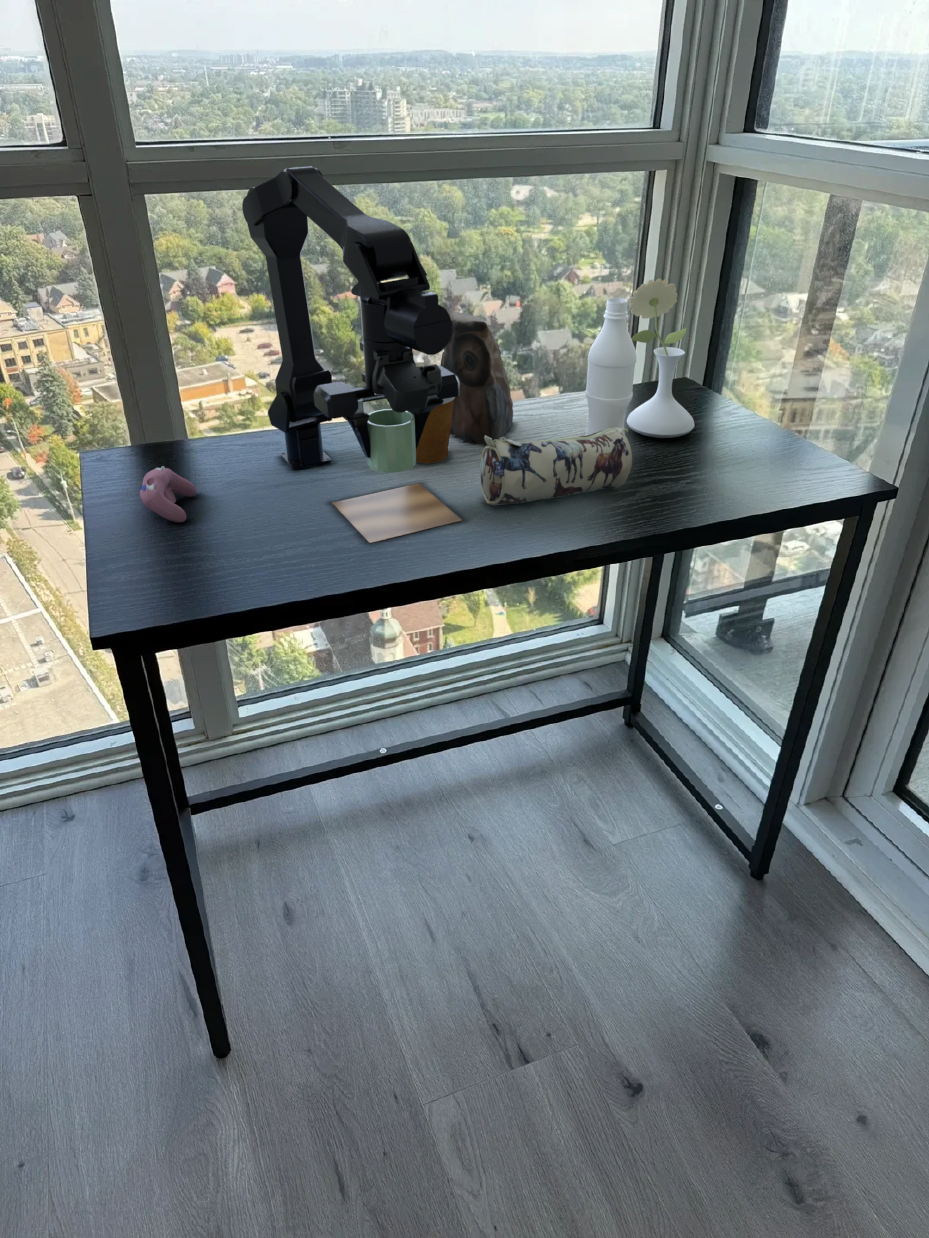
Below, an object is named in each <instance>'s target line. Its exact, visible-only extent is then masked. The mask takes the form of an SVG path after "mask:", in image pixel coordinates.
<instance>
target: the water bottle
mask: <svg viewBox="0 0 929 1238" xmlns="http://www.w3.org/2000/svg"><path fill="white" fill-rule="evenodd" d="M628 304H629V299H626V298H623V297H610V298H607V300H606V305H605V311H604V314H603V318H604V321H603V325H602V327H601V330H600V331H599V333H598V334H597V336H596V337H595V339H594V341H593V342H592V345H591V346H590V349H589V352H588V356H587V374H586V387H585V391H584V393H585V396H586V402H587V408H588V418H587V427H586V431H585V434H584V435H586V436H587V435H590V434H593V433H596V432H599V431H603V430H606V429H609V428H615V427H618V428H625V419H626V413H627V410H628V407H629V405H630V404H631V401H632V399H633V396H634V392H633V388H634V387H633V386H634V379H635V369H636V363H637V351H636V348H635V345H634V341H633V340H632V339H631V338H632V337H631V334H630V332H629V329H628V325H627V324H628V323H627V320H628V319H629V315H628V314H629V311H628ZM625 433H626V432H625V431H623V433H622V434H624V435H625V436H626V434H625Z"/></svg>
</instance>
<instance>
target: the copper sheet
mask: <svg viewBox="0 0 929 1238" xmlns="http://www.w3.org/2000/svg"><path fill="white" fill-rule="evenodd" d="M331 504H332V505H333V506H334V507H335V508H336V509H337V510H338V511H339V512H340V514H342V516H343V517H345V518H346V520H347V521H348V522H349V523H350V524H351V525H352V526H353V528H354V529H356V530H357V532H358V533H359V534H360V535H361V536H362V537H363V538H364V539H365V540H366V541H367V543H369V544H374V543H378V542H381V541H386V540H389V539H390V540H391V539H394V538H399V537H402V536H406V535H410V534H414V533H419V532H422V531H426V530H427V531H428V530H430V529H434V528H438V527H443V526H447V525H451V524H454V523H458V522H463V519H462V518H460V516H458V515H457V514H456V513H454V511H452V510H451V509H450V508H449V507H448V506H447V505H445V504H444V503H443V502H442V501H441V500H439V499H438V498H437V497H436V496H435V495H433V494H432V493H431V492H430V491H429V490H427V489H426V488H425V487H424V486H423V485H421V483H420V482H419V483H414V484H410V485H405V486H401V487H397V488H391V489H386V490H382V491H378V492H374V493H370V494H365V495H360V496H356V497H350V498H347V499H342V500H337V501H333V502H331Z"/></svg>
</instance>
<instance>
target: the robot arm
mask: <svg viewBox="0 0 929 1238" xmlns="http://www.w3.org/2000/svg"><path fill="white" fill-rule="evenodd" d="M241 208H242V209H241V210H242V214H243V218H244V220H245V222H246V225H247V228H248V232H249V236H250V238H251V240H252V241H253V242H254V243H255V245H256V246H257V248H258V249H259V250H260V252H261V253H262V254H263V255H264V257H265V260H266V261H265V262H266V267H267V268H266V269H267V273H268V281H269V286H270V292H271V293H270V294H271V298H272V304H273V310H274V317H275V323H276V326H277V327H276V328H277V335H278V341H279V346H280V354H281V359H282V362H281V364H280V366H279V368H278V371H277V374H276V377H275V378H274V379H275V380H274V384H275V394H276V395H275V397H274V398H273V400H272V402H271V404H270V407H269V408H268V410H267V415H268V419H269V422H270V425H271V426H272V427H274V428H276V429H277V430H279V431H281V432H283V433H284V440H285V449H286V451H285V452H281V453H280V455H279V456H280V458H281V459H282V460H283V461H284V462H285V463H286V464H287V465H288V466H289V467H290V469H292V470H294V471H295V470H300V469H305V468H311V467H314V466H320V465H324V464H325V465H326V464H329V463H331V462H332V458H331V457H330V456H328V455H327V453H325V451H324V448H323V438H322V428H321V424H322V423H326V422H332V421H333V419H334V420H335V419H340V418H343V419H344V420H345V421H347V422H348V424H349V426H350V428H351V430H352V431H353V433H354V436H355V438H356V440H357V442H358V444H359V446H360V448H361V450H362V453H363V454H364V456H365V458H370V457H371V447H370V439H369V432H368V425H367V423H368V419H369V413H368V412H366V411H365V410H364V408H365V407H364V403H369V402H374V401H379V400H380V401H381V400H386V401H387V402H388V404H389V407H390V409H392V410H393V411H395V412H399V413H401V412H405V411H407V410H408V412H411V413H412V414H413V415H414V418H415V445H416V448H417V447H418V444H419V441H420V438H421V435H422V432H423V429H424V426H425V423H426V421H427V419H428V416H429V414H430V412H431V411H432V410H433V409H434V408H435V407H437V406H438V405H442V404H443V402H444V400H443V399H447V398H452V397H458V396H459V395H460V382H459V379H458V377H457V376H456V375H455V374H453V373H452V372H450V371H448V370H447V369H445V368H443V367H442V366H440V365H438V364H437V363H435V364H429V365H419V366H417V365H416V361H415V359H414V351H417V352H419V353H422V354H424V355H428V356H435V355H437V354H439V353H442V351H444V348H445V347H446V346H447V344H448V342H449V340H450V338H451V335H452V328H453V324H452V321H451V318H450V315H449V313H448V312H447V310H446V309H445V308H446V307H444V306H442V305H441V304H439V295H438V293H435V292H433V291H432V292H431V291H430V289H431V285H430V283H429V279H428V277H427V276H428V273H427V271H426V270H425V268H424V267H423V264H422V262H421V260H420V257H419V256H418V253H417V250H416V248H415V245H414V244H413V241H412V239H411V237H410V235H409V234H408V232H407V231H406V230H405V229H404V228H402V227H400V226H398V225H397V224H395V223H393V222H391V221H389V220H386V219H381V218H378V217H373V216H370V215H369V214H366V213H365V212H364V211H363V210H361V209H360V208H359V207H358V206H357V205H356V204H354V202H352V201H351V200H350V199H349V198H347V197H346V196H345V195H344V194H343V193H342V192H340V191H339V190H338V189H337V188H336V187H335V186H334V185H333V184H332V183H330V182H329V181H328V180H326V179H325V178H324V175H323V173H322V171H321V170H320V168H317V167H314V166H312V165H310V166H296V167H286V168H285V169H284V170H281V171H280V172H279V173H278V174H276V176H274V177H272V178H270V179H269V180H266V181H265V182H262V183H260V184H258V185H255V186H253V187H251V188H249V189H248V191H247V194H246V196H244V198H243V200H242V207H241ZM309 219H310V220H311V221H312V222H313V223H314V224H315V225H316V226H317V227H319V229H321V230H322V231H323V232H324V233H325V234H326V235H327V236H328V237H329V238H331V240H333V242H335V243H336V244H337V245H338V247H339V248H340V249H341V252H342V263H343V264H344V266H346V267H347V269H348V270H349V272H350V273H351V274H352V275H353V277H354V278H355V279H356V280H357V283H355V284H354V285H353V286H352V288H351V290H350V293H351V295H353V296H355V297H359V301H360V302H359V304H360V316H361V317H360V318H361V334H362V341H359V350H360V351H361V352H363V366H364V372H361V381H362V382H363V383H365V386H359V387H354V388H352V387H350V386H349V385H347V383H345V382H344V381H335V382H333V375H332V373H331V372H330V370H329V369H325V368H324V367H323V366H322V364H321V362H319V360H318V359H317V357H316V350H315V344H314V343H315V342H314V337H313V329H312V323H311V317H310V309H309V304H308V297H307V290H306V282H305V276H304V270H303V263H302V251H303V249H304V246H305V243H306V240H307V238H308V235H309V233H310V232H309ZM405 277H406V278H405ZM426 291H430V292H426ZM413 350H414V351H413Z"/></svg>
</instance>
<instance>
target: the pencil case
mask: <svg viewBox="0 0 929 1238" xmlns="http://www.w3.org/2000/svg"><path fill="white" fill-rule="evenodd" d="M623 431H624V432H625V433H629V429H628V428H625V427H624V428H618V427H615V428H609V429H606V430H603V431H599V432H596V433H593V434H590V435H587V436H586V435H585V434H583V435H575V436H567V437H558V438H551V439H544V440H543V439H542V440H541V439H540V440H528V441H514V440H512V439H507V438H506V437H505V436H504V437H501V438H500V439H499V440H493V441H492V438H490V437H487V436H486V435H485V437H484V439H485V441H486V443H487V445H488V446H485V447H484V448H483V450H482V453H481V457H480V465H479V466H480V467H479V483H480V484H479V486H480V490H481V493H482V496H483V498H484V500H485V501H486V504H488V505H489V506H502V505H513V504H523V503H530V502H534V501H538V500H539V501H540V500H549V499H556V498H562V497H567V496H574V495H577V494H583V493H589V492H594V491H598V490H602V489H604V490H605V489H606V490H607V489H609V490H611V489H612V490H613V489H618V488H621V487H622V486H623V485H624V484H625V483H626V482H627V480H628V478H629V475H630V473H631V470H632V466H633V453H632V448H631V444H630V442H629V439H628V438H627V436H626V434H625V435H624V434H622V433H623Z"/></svg>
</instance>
